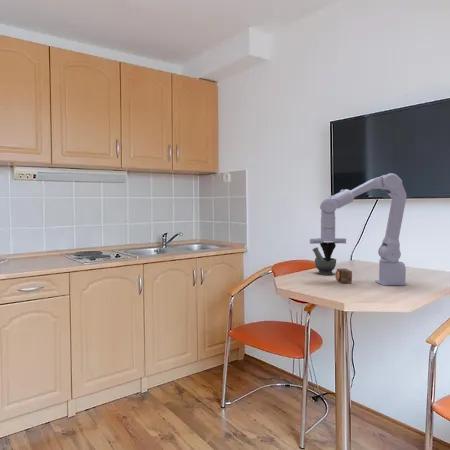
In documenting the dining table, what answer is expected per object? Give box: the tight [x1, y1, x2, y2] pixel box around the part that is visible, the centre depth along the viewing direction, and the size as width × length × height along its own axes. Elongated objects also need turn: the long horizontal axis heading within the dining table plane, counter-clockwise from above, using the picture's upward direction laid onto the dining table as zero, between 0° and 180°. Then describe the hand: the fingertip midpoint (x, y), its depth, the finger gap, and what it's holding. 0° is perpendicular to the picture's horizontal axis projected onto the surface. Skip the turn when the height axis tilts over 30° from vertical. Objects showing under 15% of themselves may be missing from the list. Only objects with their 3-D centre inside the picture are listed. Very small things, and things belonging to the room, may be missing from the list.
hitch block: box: [336, 268, 353, 285], centre depth 162 cm, size 4×7×5 cm, turn 1°
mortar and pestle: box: [312, 247, 337, 276], centre depth 181 cm, size 11×9×12 cm
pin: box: [334, 270, 341, 281], centre depth 162 cm, size 6×4×4 cm, turn 91°
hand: (327, 261), depth 161 cm, fingers closed
